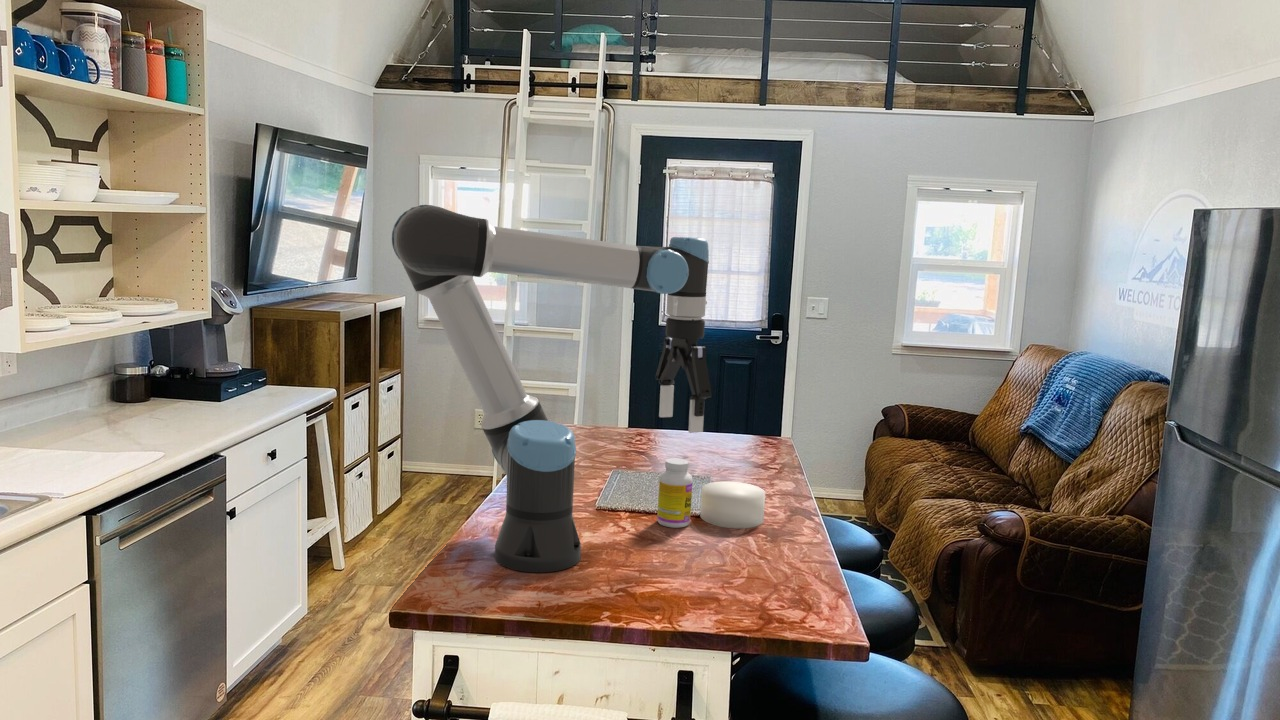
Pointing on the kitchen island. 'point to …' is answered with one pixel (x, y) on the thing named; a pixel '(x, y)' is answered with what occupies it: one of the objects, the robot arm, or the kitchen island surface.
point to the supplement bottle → (675, 494)
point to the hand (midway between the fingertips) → (680, 424)
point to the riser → (732, 504)
